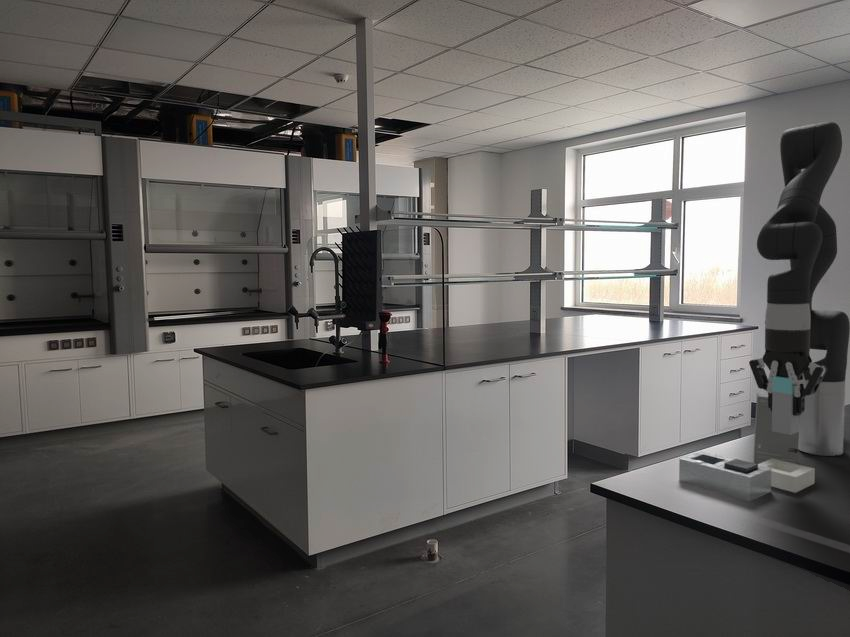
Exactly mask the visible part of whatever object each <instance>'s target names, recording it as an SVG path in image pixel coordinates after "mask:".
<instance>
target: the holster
mask: <svg viewBox="0 0 850 637" xmlns="http://www.w3.org/2000/svg"><path fill="white" fill-rule="evenodd" d="M758 465H759V466H763V467H767V468H771V469H772V471H771V488H772V487H773V488H777V489H780V490H782V491H783V490H784V491H788V492H791V493H798V492H800V491H802V490H804V489H806V488H808V487H810V486H812V485H814V484H815V482H816V481H815V475H816V473H815V472H816V471H815V470H816V469H815V468H814V467H811V466H810V467H809V466H806V465H801V464H798V463H797V464H794V463H789V462H785V461H781V460H777V459H770V460H767V461H765V462H762V463H760V464H758Z"/></svg>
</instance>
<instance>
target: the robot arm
mask: <svg viewBox="0 0 850 637" xmlns="http://www.w3.org/2000/svg"><path fill="white" fill-rule="evenodd" d="M840 128H841V127H840V126H839V125H838V123H836V122H833V121H825V122H819V123H813V124H808V125H802V126H796V127H792V128H791V127H790V128H789V129H788V128H787V129H786V130H784V131H783V132H782V134H781V136H780V137H781V138H780V144H779V149H780V150H779V151H780V152H779V153H780V159H781V160H780V161H781V167H782V174H783V182H784V188H783V189H782V192H781V194H780V197H779V201H778V204H777V208H776V210H775V211H774V213H773V214H772V215H771V216H770V218H769V219H768V220H766V222H765V223H764V225H763V226H762V227H761V229H760V230H759V233H758V235H757V240H756V248H757V251H758V253H759V255H760V256H761V257H762V258H764V259H766V260H768V261H783V260H784V261H786V260H787V261H788V260H789V263H790V264H789V265H790V269H789V270H786V271H779V272H775V273H774V272H773V273H772V274H770V275H769V276H768V277H767V278H768V279H767V284H766V287H767V288H766V289H767V290H766V291H767V292H766V293H767V295H766V310H765V316H764V318H765V319H764V325H765V326H764V350H765V352H764V354H763V355H762V357H760V358H754V359H751V360H750V361H749V367H750V369H751V372H752V374H753V377H754V380H755V383H756V386H757V388H758V389H761V390H763V391H766V393H768V407H769V408H770V409H771V412H772V393H773V376H774V377H776V376H780V377H788V378H790V379H792V385H793V393H794V396H795V397H793V415H794V416H799V415H800V424H799V441H798V451H801V452H804V453H807V454H811V455H817V456H826V457H836V455H837V456H842V454H844V438H845V437H844V436H845V434H844V432H845V430H844V429H845V409H846V408H845V402H846V401H845V400H846V373H847V366H848V352H849V343H850V342H849V341H850V318H849V317H848V315H847V313H845V312H844V311H841V310H840V311H839V310H823V309H822V310H815V309H813V306H812V304H813V296H814V292H815V291H816V289H817V286H818V285H819V283H820V282H821V280H823V277H824V276H825V274H826V273H827V272H828V271H829V269H830V268H831V266H832V264H833V263H834V262H835V260H836V258H837V254H838V240H837V239H838V237H837V225H836V222H835V220H834V219H833V217H832V216H831V215H830V214H829V212H827V210H826V209H825V208H824V207H823V206H822V205H821V204H820V203H821V198H822V195H823V192H824V190H825V188H826V186H827V184H828V182H829V180H830V178H831V176H832V175H833V173H834V171H835V168H837V164H838V162H839V160H840V157H841V153H842V150H843V135H842V132H841V129H840ZM810 350H817V351H826V352H825V357H824V358H822V359H819V360H817V361H813V360H812V358H811V355H810V352H811V351H810ZM765 366H766V367H767V369H768V371H769V375H768V376H767V373H766V371H765V369H764V368H765ZM797 378H799V379H798V380H797Z"/></svg>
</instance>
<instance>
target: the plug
mask: <svg viewBox="0 0 850 637" xmlns="http://www.w3.org/2000/svg"><path fill="white" fill-rule="evenodd" d="M798 379H799V378H797V380H798ZM793 397H795V396H794V393H793V385H792V379H790V378H788V377H780V376H776V377H774V376H773V393H772V431H774V432H779V433H784V434H789V435H792V434H794V433H797V432H799V416H800V415H799V416H794V415H793Z"/></svg>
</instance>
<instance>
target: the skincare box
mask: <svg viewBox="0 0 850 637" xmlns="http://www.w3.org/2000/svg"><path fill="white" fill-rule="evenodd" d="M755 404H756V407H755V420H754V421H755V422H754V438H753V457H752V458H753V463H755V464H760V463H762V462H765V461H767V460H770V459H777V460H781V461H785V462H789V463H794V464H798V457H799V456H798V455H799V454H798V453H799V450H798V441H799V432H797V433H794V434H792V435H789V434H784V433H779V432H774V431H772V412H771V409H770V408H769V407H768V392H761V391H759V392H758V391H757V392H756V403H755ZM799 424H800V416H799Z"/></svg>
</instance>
